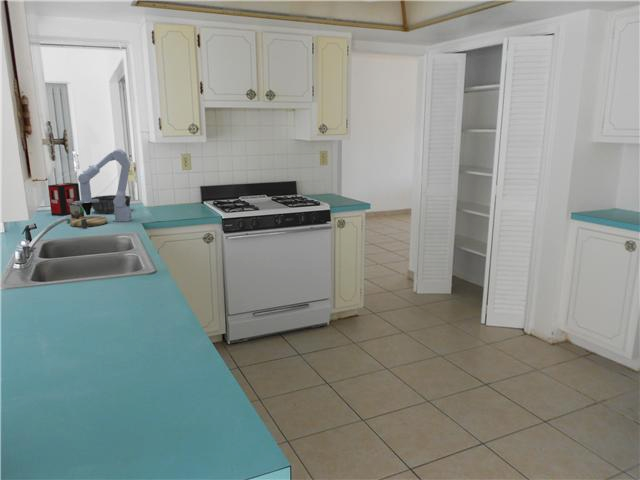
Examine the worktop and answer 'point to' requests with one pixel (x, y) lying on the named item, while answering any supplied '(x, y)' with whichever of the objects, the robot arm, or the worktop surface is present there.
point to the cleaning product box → (63, 197)
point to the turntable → (90, 220)
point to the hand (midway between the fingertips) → (88, 214)
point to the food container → (76, 209)
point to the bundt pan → (107, 203)
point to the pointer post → (84, 223)
